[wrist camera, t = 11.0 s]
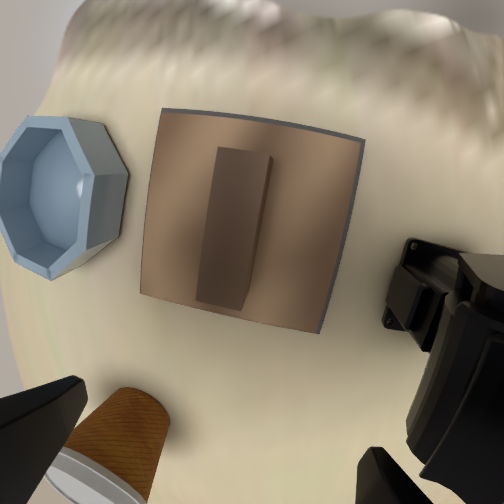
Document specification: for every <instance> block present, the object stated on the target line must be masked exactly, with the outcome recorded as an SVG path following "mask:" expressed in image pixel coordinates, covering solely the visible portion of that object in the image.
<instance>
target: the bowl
mask: <svg viewBox="0 0 504 504" xmlns="http://www.w3.org/2000/svg"><path fill="white" fill-rule="evenodd" d="M127 178H128V172H127V170H126V168H125V166H124V165H123V163H122V161H121V159H120V157H119V155H118V153H117V150H116V148H115V147H114V145H113V144H112V142H111V140H110V138H109V136H108V134H107V132H106V130H105V128H104V126H103V124H102V123H98V122H92V121H87V120H82V119H76V118H70V117H51V116H27V117H26V118H25V119H24V121H23V122H22V123H21V125H20V126H19V127H18V129H17V130H16V131H15V133H14V134H13V136H12V137H11V139H10V140H9V141H8V143H7V144H6V146H5V147H4V149H3V150H2V152H1V153H0V230H1V233H2V235H3V238H4V240H5V242H6V245H7V247H8V249H9V251H10V254H11V256H12V258H13V260H14V262H15V263H17V264H19V265H21V266H23V267H25V268H27V269H28V270H30V271H32V272H34V273H36V274H38V275H40V276H42V277H44V278H46V279H48V280H50V281H52V280H54V279H56V278H58V277H60V276H62V275H64V274H66V273H68V272H70V271H72V270H74V269H76V268H78V267H80V266H82V265H83V264H84V263H86V262H87V261H88V260H89V259H90V258H92V257H93V256H94V255H95V254H97V253H98V252H99V251H100V250H102V249H103V248H104V247H106V246H107V245H108V244H109V243H111V242H112V241H113V240H115V239H116V238H117V237H119V229H120V222H121V215H122V210H123V205H124V197H125V190H126V184H127Z"/></svg>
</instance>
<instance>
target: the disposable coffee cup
mask: <svg viewBox="0 0 504 504" xmlns="http://www.w3.org/2000/svg"><path fill="white" fill-rule="evenodd" d="M169 425H170V419H169V416H168V414H167V412H166V410H165V409H164V408H163V406H162V405H161V404H160V403H158V402H157V401H156V400H155V399H154V398H152V397H151V396H149V395H148V394H146V393H144V392H142V391H139V390H136V389H132V388H121V389H118V390H117V391H115V393H113V394H112V395H111V396H110V397H109V398H108V399H107V400H106V401H104V402H103V403H102V404H101V405H100V406H99V407H98V408H97V409H96V410H94V411H93V412H92V413H91V414H90V415H89V416H88V417H87V418H86V419H84V420H83V421H82V422H81V423H80V424H79V425H78V426H77V427H76V428H74V429H73V431H72V433H71V435H70V437H69V438H68V440H67V441H66V443H65V444H64V446H63V447H62V449H61V450H60V452H59V453H58V455H57V456H56V458H55V460H54V461H53V463H52V464H51V466H50V467H49V469H48V470H47V472H46V473H45V475H44V478H45V479H46V480H47V481H48V482H49V484H50V485H51V486H52V487H53V488H54V489H55V490H56V491H58V492H59V493H60V494H61V495H62V496H63V497H65V498H66V499H67V500H68V501H70V502H71V503H72V504H147V501H148V498H149V494H150V490H151V487H152V483H153V479H154V476H155V472H156V469H157V466H158V462H159V458H160V456H161V452H162V448H163V445H164V442H165V438H166V435H167V432H168V428H169Z"/></svg>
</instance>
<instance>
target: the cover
mask: <svg viewBox="0 0 504 504" xmlns="http://www.w3.org/2000/svg"><path fill="white" fill-rule="evenodd" d="M360 145H361V143H359V142H356V141H352V140H348V139H344V138H339V137H335V136H331V135H326V134H322V133H317V132H313V131H308V130H303V129H298V128H292V127H287V126H281V125H275V124H269V123H263V122H257V121H250V120H242V119H234V118H226V117H217V116H207V115H196V114H183V113H166V112H162V113H161V118H160V123H159V128H158V134H157V140H156V145H155V151H154V158H153V164H152V171H151V178H150V186H149V193H148V202H147V211H146V220H145V231H144V243H143V256H142V273H141V294H144V295H148V296H151V297H155V298H159V299H162V300H166V301H170V302H174V303H178V304H182V305H186V306H190V307H194V308H198V309H202V310H206V311H210V312H214V313H219V314H223V315H227V316H232V317H236V318H241V319H245V320H250V321H255V322H259V323H264V324H269V325H274V326H279V327H284V328H289V329H295V330H300V331H306V332H311V333H316V332H317V329H318V325H319V322H320V319H321V315H322V312H323V308H324V305H325V301H326V298H327V294H328V291H329V287H330V283H331V279H332V276H333V272H334V268H335V264H336V260H337V256H338V252H339V248H340V244H341V240H342V235H343V231H344V227H345V222H346V218H347V213H348V208H349V204H350V199H351V194H352V189H353V184H354V179H355V173H356V168H357V162H358V157H359V151H360Z"/></svg>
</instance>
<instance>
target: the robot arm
mask: <svg viewBox="0 0 504 504" xmlns="http://www.w3.org/2000/svg"><path fill="white" fill-rule="evenodd" d="M412 243H415V247H414V248H413V249H411V245H412ZM386 303H387V307H386V310H385V313H384V315H383V318H382V324H383V326H384V327H385V328H387V329H393V330H400V331H407V332H409V333H410V334H411V336H412V337H413V339H414V340H415V341H416V343H417V344H418V346H419V347H420V349H421V351H423V352H429V354H430V356H429V359H428V362H427V365H426V368H425V371H424V374H423V376H422V379H421V382H420V385H419V387H418V390H417V393H416V395H415V398H414V400H413V403H412V405H411V408H410V410H409V413H408V416H407V419H406V427H407V435H408V438H407V440H406V443H407V445H408V446H409V448H410V450H411V452H412V453H413V454H414V455H415V456H416V457H417V458H418V459H419V460H420V461H421V462H422V463H423V464H425V466H424V468H423V469H422V471H421V472H420V474H419V476H420V477H421V478H423V479H426V480H430V481H433V482H437V483H439V484H441V485H443V486H444V487H446V488H448V489H450V490H452V491H453V492H454V493H455V494H456V495H458V496H459V497H460V498H461V499H462V500H463V501H464V502H465V503H466V504H504V255H490V254H472V253H467V252H464V251H460V250H457V249H453V248H449V247H446V246H442V245H439V244H435V243H431V242H428V241H424V240H420V239H416V238H410V239H408V240H407V242H406V244H405V248H404V252H403V255H402V259H401V263H400V265H399V266H398V267H397V268H396V270H395V273H394V277H393V280H392V283H391V286H390V290H389V293H388V296H387V299H386ZM389 319H392V320H391V322H390V323H387V321H388V320H389ZM87 401H88V395H87V391H86V386H85V382H84V380H83V379H81V378H79V377H77V376H75V375H71V376H68V377H65V378H62V379H59V380H56V381H53V382H50V383H47V384H44V385H41V386H38V387H35V388H32V389H29V390H26V391H23V392H20V393H16V394H13V395H10V396H6V397H3V398H0V504H27V502H28V501H29V499H30V497H31V496H32V494H33V492H34V491H35V489H36V488H37V486H38V484H39V483H40V481H41V480H42V478H43V477H44V475H45V473H46V472H47V470H48V469H49V467H50V466H51V464H52V463H53V461H54V460H55V458H56V456H57V455H58V453H59V452H60V450H61V449H62V447H63V446H64V444H65V443H66V441H67V440H68V438H69V437H70V435H71V433H72V431H73V429H74V427H75V425H76V423H77V421H78V419H79V417H80V415H81V413H82V412H83V410H84V408H85V406H86V404H87ZM355 504H433V503H432V502H431V500H430V499H429V498H428V497H427V496H426V495H425V494H424V493H423V492H422V491H421V490H420V488H419V487H418V486H417V485H416V484H415V483H414V482H413V481H412V480H411V478H410V477H409V476H408V475H407V474H406V473H405V472H404V471H403V470H402V468H401V467H400V466H399V465H398V464H397V463H396V462H395V461H394V459H393V458H392V457H391V456H390V455H389V454H388V453H387V451H386V450H385V449H384V448H383V447H370V448H368V449H367V451H366V452H365V454H364V455H363V457H362V458H361V459H360V461H359V463H358V466H357V485H356V500H355Z"/></svg>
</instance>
